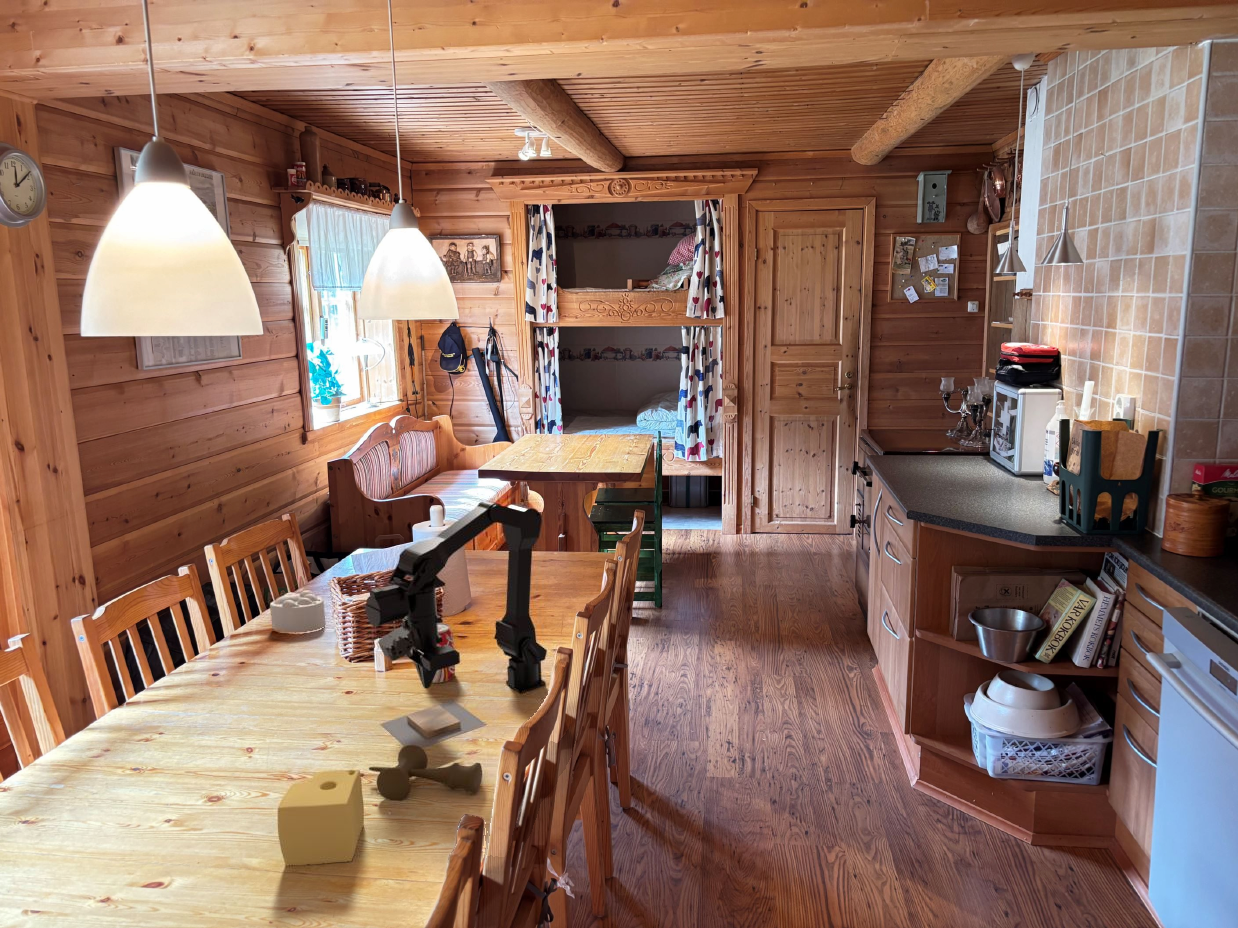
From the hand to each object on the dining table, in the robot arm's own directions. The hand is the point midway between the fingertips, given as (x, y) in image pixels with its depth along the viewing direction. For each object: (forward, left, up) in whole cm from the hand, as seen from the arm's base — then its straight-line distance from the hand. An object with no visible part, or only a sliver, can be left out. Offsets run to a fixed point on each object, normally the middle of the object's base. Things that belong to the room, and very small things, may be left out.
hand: (426, 687), depth 171 cm
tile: (0, -2, -6) cm, 7 cm away
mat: (0, +2, -8) cm, 8 cm away
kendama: (+11, +21, -8) cm, 25 cm away
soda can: (-11, -17, -8) cm, 22 cm away
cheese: (+30, +26, -8) cm, 40 cm away
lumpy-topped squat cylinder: (+2, -69, -8) cm, 70 cm away
